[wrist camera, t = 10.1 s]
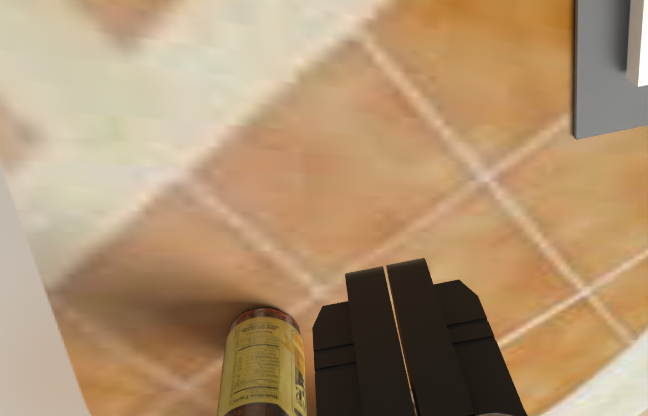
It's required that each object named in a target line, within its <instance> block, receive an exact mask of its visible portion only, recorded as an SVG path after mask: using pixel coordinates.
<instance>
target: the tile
mask: <svg viewBox="0 0 648 416" xmlns="http://www.w3.org/2000/svg"><path fill="white" fill-rule="evenodd" d="M626 78H627V79H628V80H630V81H631V82H632V83H634V84H635V85H637V86H638V87H639V86H644V85H648V0H631V1H630V19H629V36H628V54H627V71H626Z"/></svg>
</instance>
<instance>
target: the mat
mask: <svg viewBox="0 0 648 416" xmlns="http://www.w3.org/2000/svg"><path fill="white" fill-rule="evenodd" d="M630 1H631V0H576V2H575V93H574V138H575V139H576V140H578V139H582V138H587V137H592V136H597V135H602V134H607V133H612V132H617V131H621V130H626V129H631V128H636V127H641V126H646V125H648V85H644V86H639V87H638V86H637V85H635V84H634V83H632V82H631V81H630V80H628V79H627V78H626V71H627V54H628V36H629V19H630Z"/></svg>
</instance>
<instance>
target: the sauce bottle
mask: <svg viewBox="0 0 648 416" xmlns="http://www.w3.org/2000/svg"><path fill="white" fill-rule="evenodd" d="M217 416H307V407H306V387H305V366H304V345H303V340H302V337H301V334H300V330H299V327H298V324H297V323H296V322H295V320H294V319H293V318H292V317H291V316H289V315H286V314H285V313H283V312H281V311H279V310H275V309H270V308H260V309H253V310H250V311H246V312H244V313H242V314H241V315H240V316H239V317H238V318H237V319H236V320H235V321H234V323H233V324H232V326H231V328H230V329H229V331H228V335H227V340H226V345H225V350H224V358H223V366H222V375H221V384H220V393H219V402H218V410H217Z"/></svg>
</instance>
